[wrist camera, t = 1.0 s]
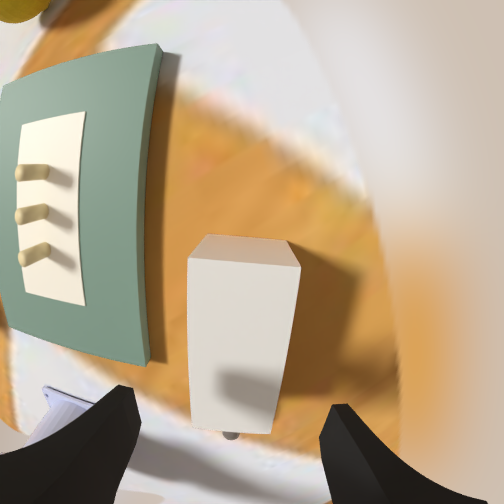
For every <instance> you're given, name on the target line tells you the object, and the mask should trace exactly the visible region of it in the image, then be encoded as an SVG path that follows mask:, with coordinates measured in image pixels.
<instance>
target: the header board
mask: <svg viewBox="0 0 504 504" xmlns="http://www.w3.org/2000/svg"><path fill="white" fill-rule="evenodd" d="M162 55H163V51H162V49H161V48H160V46H159V45H158V44H148V45H141V46H134V47H128V48H122V49H117V50H111V51H107V52H102V53H97V54H93V55H89V56H85V57H81V58H78V59H74V60H71V61H67V62H64V63H61V64H58V65H54V66H51V67H49V68H46V69H43V70H40V71H37V72H35V73H32V74H30V75H27V76H25V77H22V78H20V79H18V80H15V81H13V82H11V83H9V84H6V85H4V86H3V90H2V94H1V98H0V293H1V298H2V302H3V306H4V310H5V314H6V318H7V322H8V325H9V327H11V328H13V329H16V330H18V331H21V332H24V333H26V334H29V335H32V336H34V337H37V338H40V339H43V340H46V341H48V342H51V343H54V344H58V345H61V346H64V347H67V348H70V349H74V350H77V351H81V352H84V353H88V354H91V355H95V356H99V357H103V358H107V359H111V360H115V361H120V362H124V363H129V364H133V365H138V366H143V367H146V366H147V364H148V362H149V360H150V358H151V354H150V345H149V335H148V324H147V311H146V294H145V270H144V212H145V188H146V172H147V159H148V148H149V138H150V129H151V121H152V113H153V106H154V99H155V93H156V86H157V81H158V75H159V70H160V64H161V59H162Z"/></svg>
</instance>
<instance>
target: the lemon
mask: <svg viewBox="0 0 504 504" xmlns="http://www.w3.org/2000/svg"><path fill="white" fill-rule="evenodd" d="M50 1H51V0H0V21H3V22H7V23H21V22H24V21H27V20H30V19H32V18H33V17H35V16H37V15H38V14H39V13H40V12H42V11H45V10H46V9H47V8H48V6H49V3H50Z"/></svg>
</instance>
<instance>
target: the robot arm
mask: <svg viewBox="0 0 504 504" xmlns="http://www.w3.org/2000/svg"><path fill="white" fill-rule="evenodd" d="M42 391H43V393H44V396H45V398H46V400H47V402H48V404H49V407H50V409H49V411H48V412H47V413H46V415H45V416H44V417H43V419H42V420H41V422H40V423H39V424H38V426H37V427H36V429H35V430H34V431H33V433H32V434H31V436H30V437H29V439H28V440H27V442H26V443H25V445H24V446H23V448H21V449H18V450H16V451H12V452H9V453H3V452H2V453H0V504H113V503H114V500H115V496H116V492H117V489H118V486H119V484H120V481H121V479H122V477H123V474H124V472H125V469H126V467H127V464H128V462H129V460H130V457H131V455H132V452H133V450H134V448H135V445H136V442H137V438H138V435H139V431H140V427H141V423H142V422H141V419H140V415H139V411H138V407H137V403H136V399H135V394H134V390H133V388H130V387H126V386H122V385H117V386H116V387H115V388H114V389H112V390H111V391H110V392H109V393H107V394H106V395H105V396H104V397H103V398H101V399H100V400H99V401H98V402H97V403H95V404H91V403H88V402H85V401H82V400H79V399H76V398H73V397H71V396H68V395H65V394H63V393H60V392H58V391H55V390H53V389H51V388H48V387H46V386H43V388H42ZM319 441H320V451H321V458H322V463H323V467H324V471H325V475H326V479H327V483H328V486H329V490H330V494H331V498H332V502H333V504H488V503H487V501H484V500H480V499H476V498H472V497H468V496H465V495H462V494H459V493H456V492H454V491H452V490H449V489H447V488H445V487H443V486H441V485H439V484H437V483H435V482H433V481H432V480H430V479H428V478H426V477H425V476H423V475H422V474H420V473H419V472H417V471H416V470H414V469H413V468H412V467H410V466H409V465H407V464H406V463H405V462H404V461H402V460H401V459H400V458H399V457H398V456H397V455H395V454H394V453H393V452H392V451H391V450H390V449H389V448H388V447H387V446H386V445H385V444H384V443H383V442H382V441H381V440H380V439H379V438H378V437H377V436H376V435H375V434H374V433H373V432H372V431H371V430H370V429H369V427H368V426H367V425H366V424H365V423H364V422H363V421H362V420H361V418H360V417H359V416H358V415H357V414H356V413H355V412H354V410H353V409H352V408H351V407H350V406H349V405H348V404H333V405H332V406H331V409H330V411H329V414H328V417H327V419H326V422H325V424H324V427H323V429H322V431H321V434H320V436H319Z"/></svg>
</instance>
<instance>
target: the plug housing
mask: <svg viewBox="0 0 504 504" xmlns="http://www.w3.org/2000/svg"><path fill="white" fill-rule="evenodd" d="M300 273H301V266H300V264H299V262H298V260H297V259H296V257H295V255H294V253H293V252H292V250H291V248H290V246H289V245H288V243H287V241H286V240H276V239H265V238H254V237H242V236H230V235H218V234H207V235H206V236H205V237H204V238H203V240H202V241H201V242H200V243H199V244H198V246H197V247H196V248H195V249H194V251H193V252H192V253H191V254H190V256H189V257H188V275H187V331H188V366H189V387H190V404H191V418H192V428H199V429H206V430H215V431H222V433H223V436H224V437H225V438H226V439H228V440H235V439H237V438H238V437H239V434H240V433H255V434H270V433H271V429H272V424H273V420H274V415H275V411H276V406H277V402H278V397H279V392H280V387H281V383H282V378H283V373H284V367H285V362H286V357H287V352H288V346H289V341H290V335H291V329H292V324H293V318H294V312H295V306H296V299H297V293H298V287H299V280H300Z"/></svg>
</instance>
